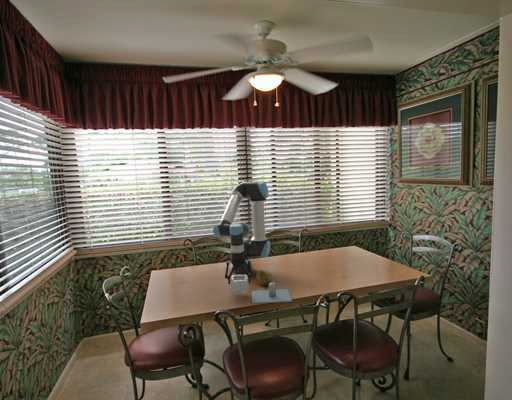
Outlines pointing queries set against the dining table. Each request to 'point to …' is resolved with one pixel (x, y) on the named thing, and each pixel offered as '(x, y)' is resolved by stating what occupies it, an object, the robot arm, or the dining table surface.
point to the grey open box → (239, 283)
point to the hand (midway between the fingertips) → (239, 288)
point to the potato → (263, 278)
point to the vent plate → (271, 295)
